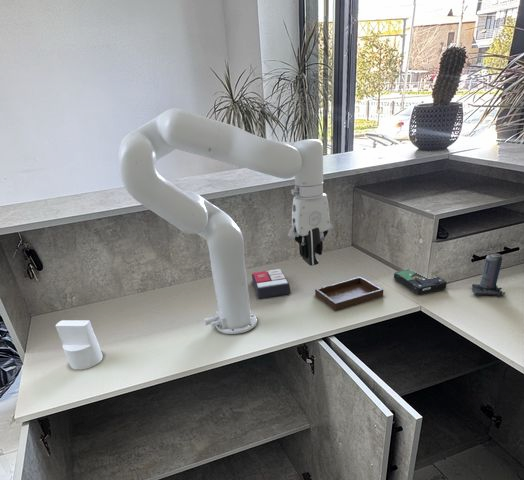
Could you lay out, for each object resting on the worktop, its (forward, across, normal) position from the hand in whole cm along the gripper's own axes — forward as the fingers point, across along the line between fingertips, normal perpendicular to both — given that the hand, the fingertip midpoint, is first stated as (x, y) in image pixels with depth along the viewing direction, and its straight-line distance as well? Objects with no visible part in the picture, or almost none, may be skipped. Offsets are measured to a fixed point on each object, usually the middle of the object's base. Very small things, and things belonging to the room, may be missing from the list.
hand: (311, 254), depth 127 cm
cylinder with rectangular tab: (+18, -68, +8) cm, 71 cm away
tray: (+18, +14, +1) cm, 22 cm away
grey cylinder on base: (+18, +50, -20) cm, 57 cm away
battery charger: (+2, 0, 0) cm, 3 cm away
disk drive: (+18, +38, -4) cm, 42 cm away
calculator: (+18, -5, +22) cm, 29 cm away
